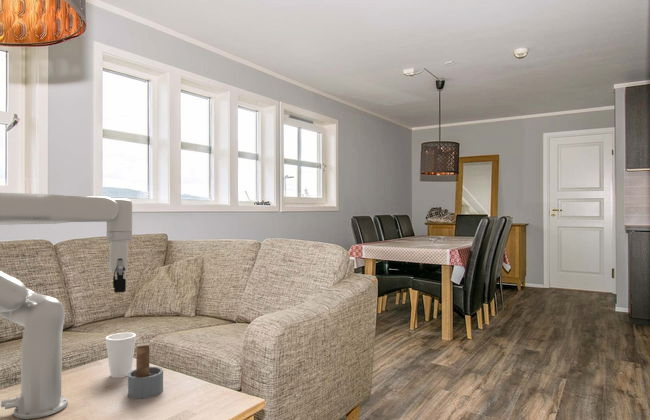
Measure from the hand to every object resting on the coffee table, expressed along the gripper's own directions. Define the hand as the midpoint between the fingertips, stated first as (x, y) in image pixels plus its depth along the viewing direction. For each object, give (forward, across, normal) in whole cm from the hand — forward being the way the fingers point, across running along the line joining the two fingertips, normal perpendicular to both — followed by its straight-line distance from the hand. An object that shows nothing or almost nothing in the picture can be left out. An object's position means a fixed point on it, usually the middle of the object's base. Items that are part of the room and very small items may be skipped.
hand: (119, 289), depth 139 cm
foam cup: (+31, -9, +1) cm, 32 cm away
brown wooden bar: (+30, +11, +6) cm, 32 cm away
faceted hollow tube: (+30, +11, +7) cm, 33 cm away
